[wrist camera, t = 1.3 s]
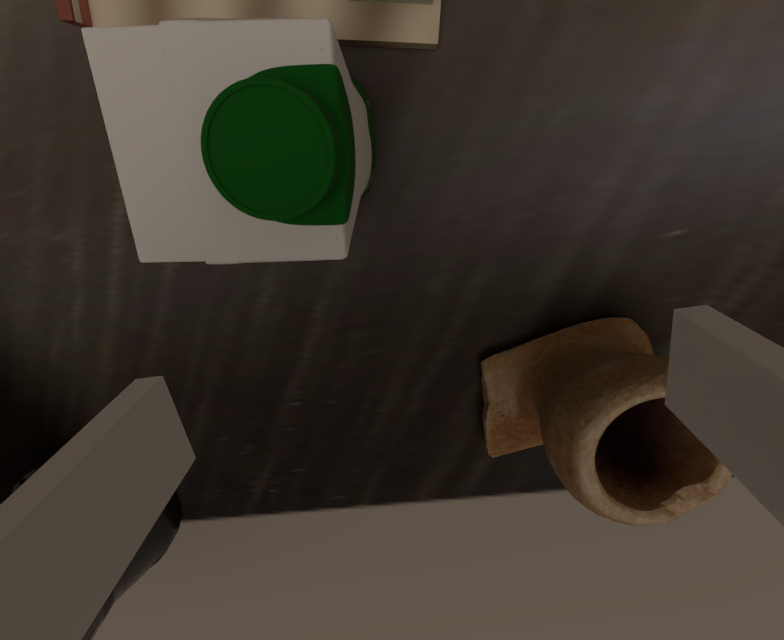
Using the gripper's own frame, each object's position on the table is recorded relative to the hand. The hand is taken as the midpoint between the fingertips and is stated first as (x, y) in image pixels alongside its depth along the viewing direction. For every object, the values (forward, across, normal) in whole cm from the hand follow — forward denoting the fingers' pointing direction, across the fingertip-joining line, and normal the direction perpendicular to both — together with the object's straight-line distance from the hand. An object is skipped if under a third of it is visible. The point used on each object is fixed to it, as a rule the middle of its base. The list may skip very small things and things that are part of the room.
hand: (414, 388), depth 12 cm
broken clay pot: (+24, +11, -14) cm, 30 cm away
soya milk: (+24, -6, +6) cm, 25 cm away
